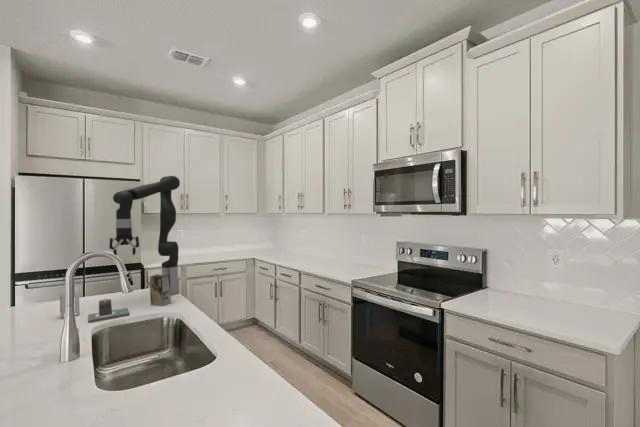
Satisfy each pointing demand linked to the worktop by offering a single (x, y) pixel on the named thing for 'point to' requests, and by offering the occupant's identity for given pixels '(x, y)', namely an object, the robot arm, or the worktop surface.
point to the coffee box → (160, 290)
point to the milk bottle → (62, 301)
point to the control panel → (114, 314)
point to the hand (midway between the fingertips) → (124, 255)
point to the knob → (105, 307)
